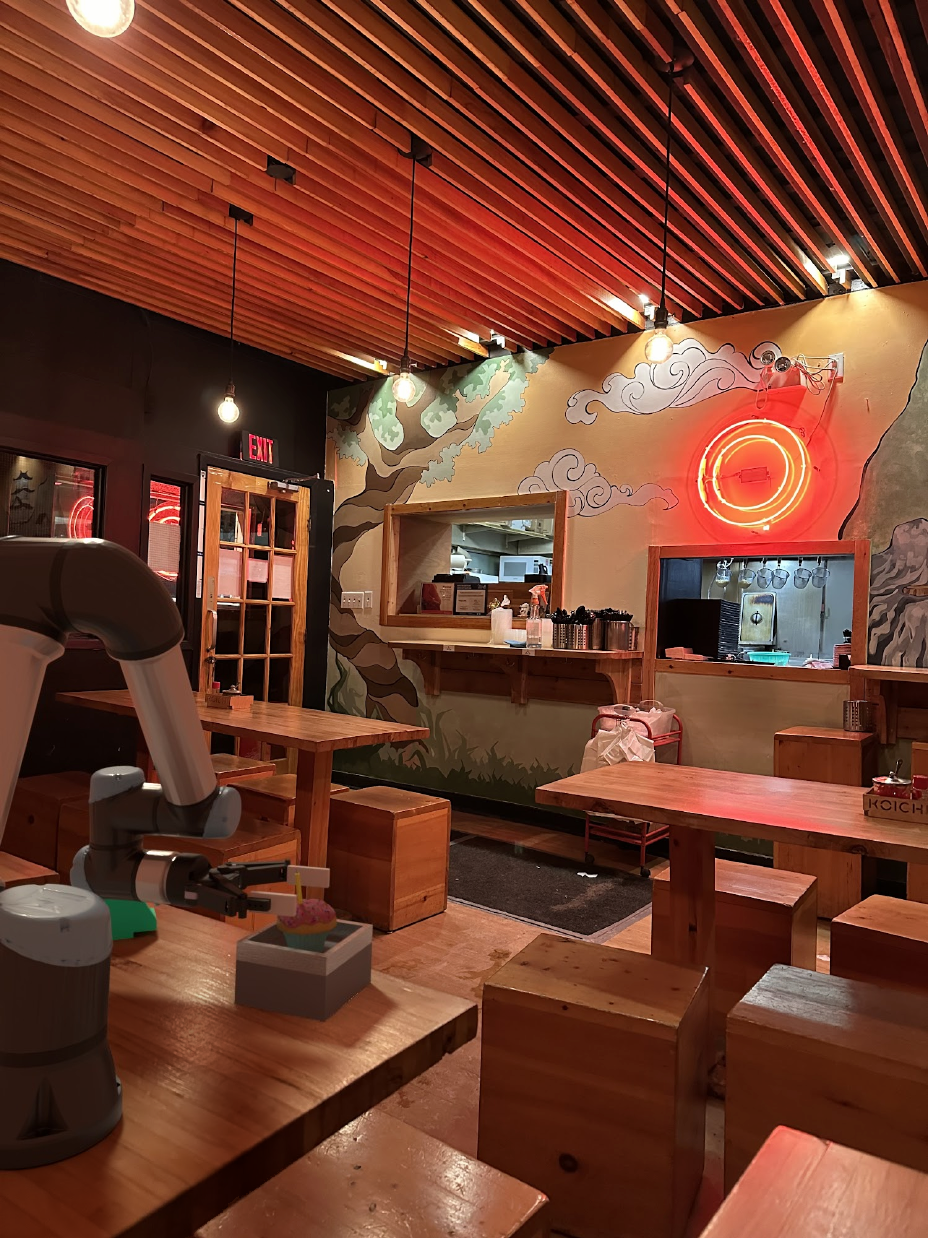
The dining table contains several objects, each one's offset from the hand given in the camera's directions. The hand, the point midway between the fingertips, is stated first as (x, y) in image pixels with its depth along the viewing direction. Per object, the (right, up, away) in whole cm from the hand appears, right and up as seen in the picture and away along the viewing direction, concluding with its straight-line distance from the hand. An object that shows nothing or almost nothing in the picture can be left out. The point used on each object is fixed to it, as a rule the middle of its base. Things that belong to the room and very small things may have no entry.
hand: (313, 891), depth 122 cm
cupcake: (-1, -9, 0) cm, 9 cm away
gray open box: (-1, -14, 0) cm, 14 cm away
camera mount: (-37, -14, +22) cm, 45 cm away
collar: (-1, -8, 0) cm, 8 cm away
